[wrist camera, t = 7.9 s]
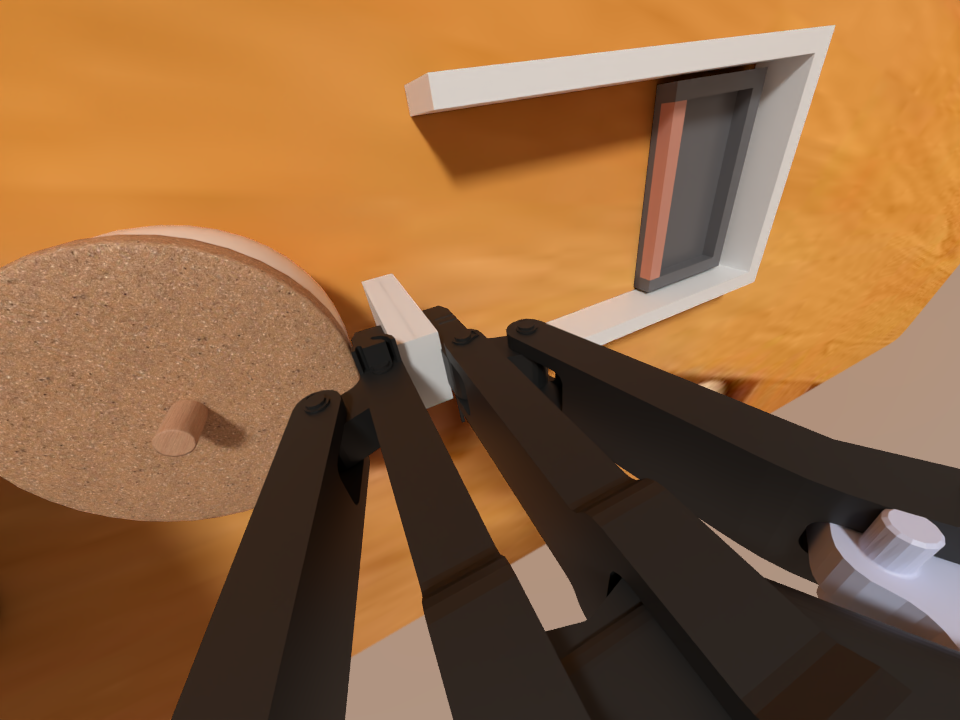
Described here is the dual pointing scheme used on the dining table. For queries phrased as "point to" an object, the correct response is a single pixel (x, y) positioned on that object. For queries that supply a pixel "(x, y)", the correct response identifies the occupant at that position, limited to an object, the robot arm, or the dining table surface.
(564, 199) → the dining table surface
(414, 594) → the dining table surface
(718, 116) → the tray
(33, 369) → the lidded jar
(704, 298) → the channel
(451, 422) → the dining table surface
